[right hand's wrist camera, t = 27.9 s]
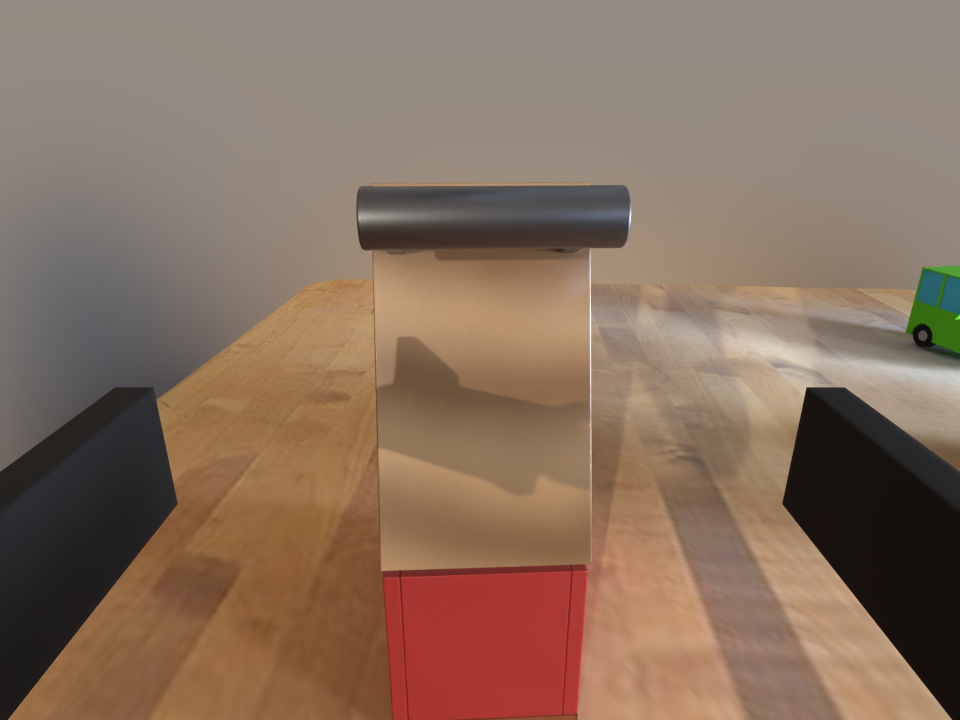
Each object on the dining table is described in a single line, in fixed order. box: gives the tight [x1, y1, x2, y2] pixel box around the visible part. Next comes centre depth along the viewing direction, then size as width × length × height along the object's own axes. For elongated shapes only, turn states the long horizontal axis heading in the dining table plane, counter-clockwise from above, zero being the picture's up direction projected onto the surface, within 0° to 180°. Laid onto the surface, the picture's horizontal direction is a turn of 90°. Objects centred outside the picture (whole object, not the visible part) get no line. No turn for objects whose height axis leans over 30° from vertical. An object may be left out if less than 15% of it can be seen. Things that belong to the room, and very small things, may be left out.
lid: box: [356, 182, 631, 571], centre depth 23 cm, size 16×9×9 cm
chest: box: [383, 564, 588, 720], centre depth 36 cm, size 16×9×10 cm, turn 3°
